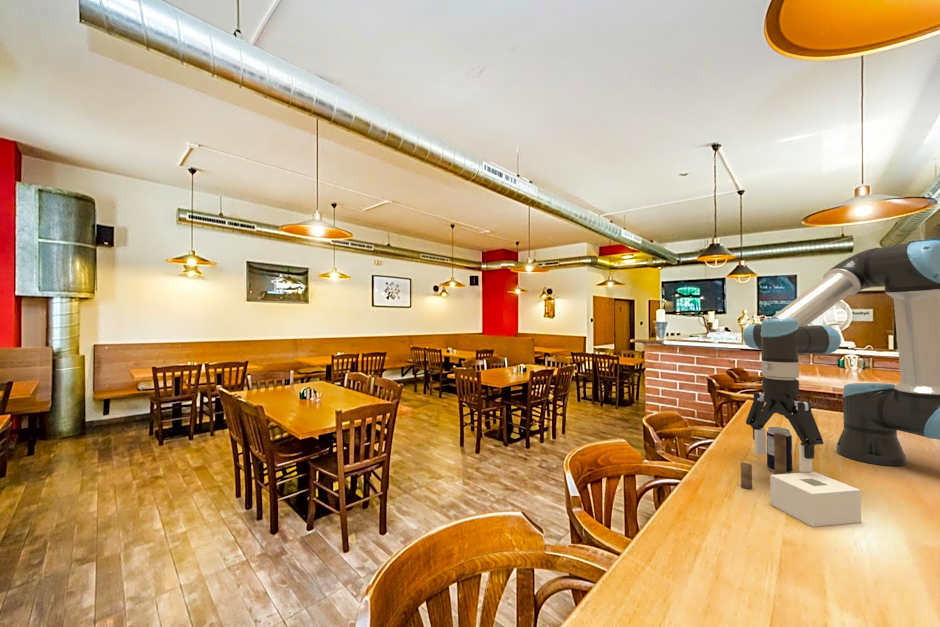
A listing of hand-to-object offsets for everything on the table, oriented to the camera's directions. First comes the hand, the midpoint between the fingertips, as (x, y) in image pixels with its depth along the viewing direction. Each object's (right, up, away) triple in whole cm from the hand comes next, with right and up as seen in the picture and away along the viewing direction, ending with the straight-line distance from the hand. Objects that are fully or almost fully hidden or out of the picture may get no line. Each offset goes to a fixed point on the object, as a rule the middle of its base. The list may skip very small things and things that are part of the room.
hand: (781, 461), depth 101 cm
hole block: (-2, -7, -12) cm, 14 cm away
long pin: (0, -7, 0) cm, 7 cm away
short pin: (-8, -7, +1) cm, 11 cm away
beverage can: (+9, -7, +12) cm, 16 cm away
